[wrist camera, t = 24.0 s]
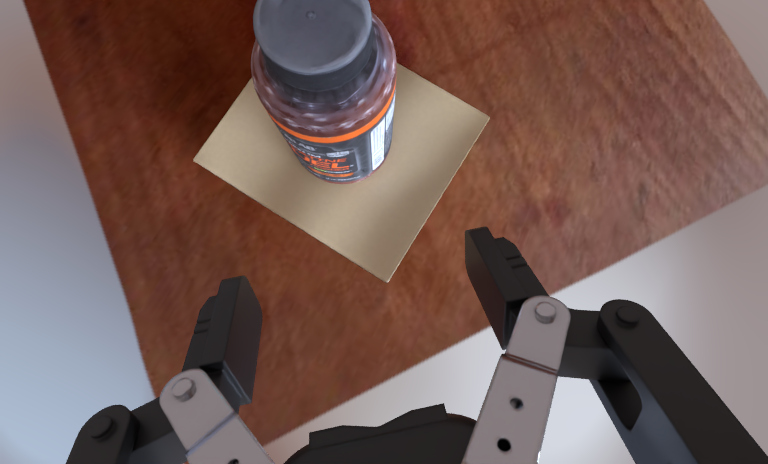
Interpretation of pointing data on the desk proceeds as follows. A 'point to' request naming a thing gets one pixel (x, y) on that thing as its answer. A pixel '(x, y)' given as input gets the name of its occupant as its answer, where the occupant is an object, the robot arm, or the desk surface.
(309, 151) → the supplement bottle
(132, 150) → the desk surface
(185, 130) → the desk surface
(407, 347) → the desk surface
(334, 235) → the stand
